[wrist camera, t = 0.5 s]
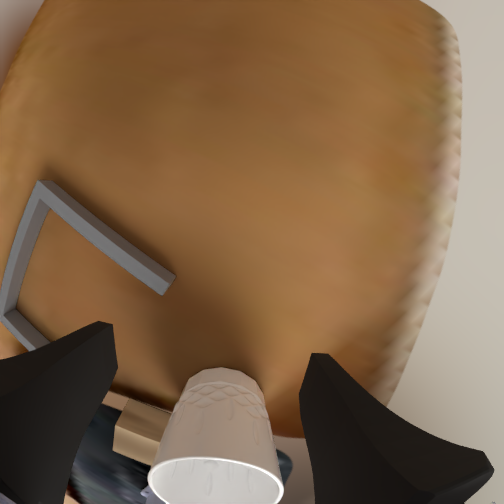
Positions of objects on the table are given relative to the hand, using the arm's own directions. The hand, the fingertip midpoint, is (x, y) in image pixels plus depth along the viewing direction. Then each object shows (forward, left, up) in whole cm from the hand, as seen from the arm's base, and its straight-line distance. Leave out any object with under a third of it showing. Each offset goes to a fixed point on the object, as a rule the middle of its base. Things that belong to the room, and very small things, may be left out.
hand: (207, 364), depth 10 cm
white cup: (-9, -5, -11) cm, 15 cm away
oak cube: (-16, -1, -11) cm, 19 cm away
